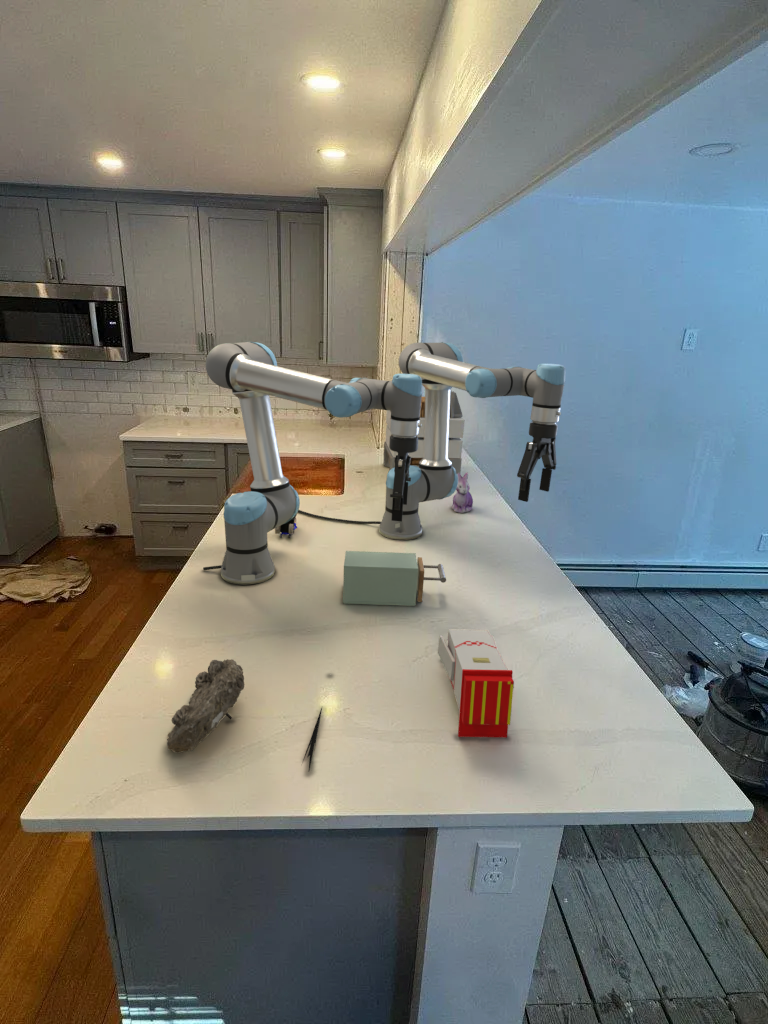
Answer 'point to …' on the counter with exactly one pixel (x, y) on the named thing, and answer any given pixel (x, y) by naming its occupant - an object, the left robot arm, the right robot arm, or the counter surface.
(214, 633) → the counter surface
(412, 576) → the cabinet
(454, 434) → the white slatted crate
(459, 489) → the figurine
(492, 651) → the toy
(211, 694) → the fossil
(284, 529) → the figurine character
